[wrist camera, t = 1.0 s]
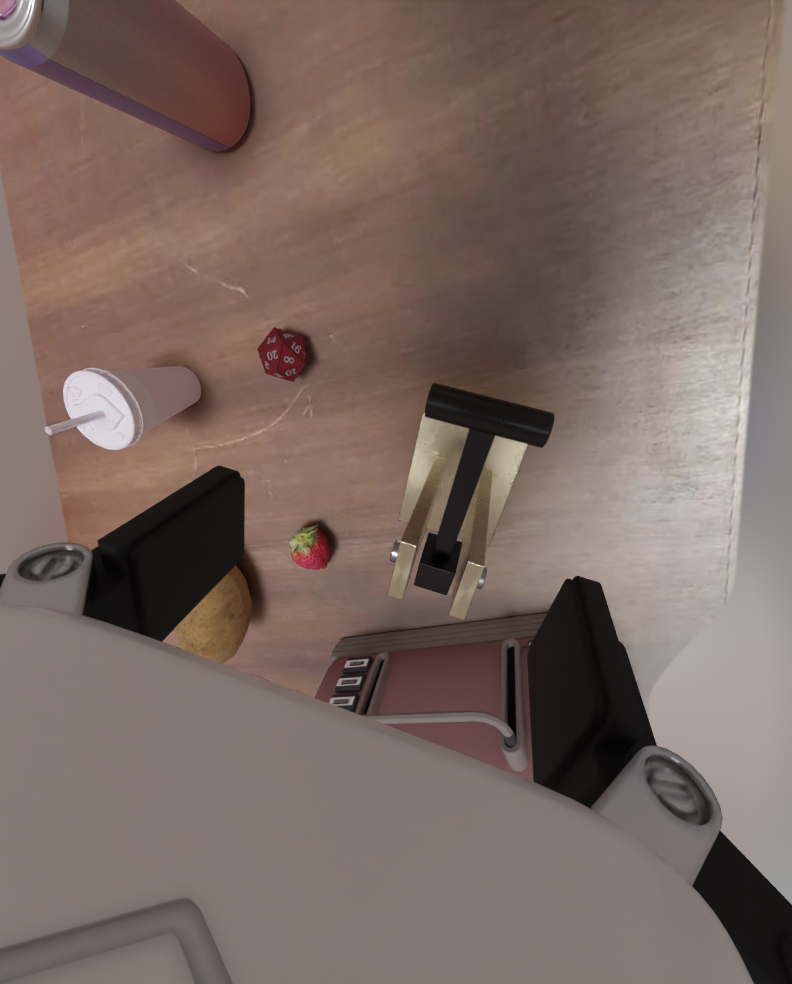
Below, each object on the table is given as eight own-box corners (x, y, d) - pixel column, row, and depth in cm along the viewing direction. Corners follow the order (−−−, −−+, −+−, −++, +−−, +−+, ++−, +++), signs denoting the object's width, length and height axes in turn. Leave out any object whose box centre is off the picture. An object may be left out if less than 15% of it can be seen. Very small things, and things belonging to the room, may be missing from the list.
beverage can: (204, 168, 30) (-21, 82, 17) (164, 67, 28) (-128, -118, 15) (268, 132, 28) (68, 4, 15) (232, 21, 26) (-40, -240, 13)
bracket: (425, 409, 35) (376, 482, 22) (528, 436, 34) (541, 530, 21) (400, 514, 40) (350, 621, 27) (489, 540, 39) (480, 665, 26)
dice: (305, 319, 34) (281, 323, 30) (322, 372, 35) (301, 382, 32) (267, 330, 35) (241, 335, 31) (285, 381, 37) (262, 391, 33)
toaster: (587, 567, 38) (640, 752, 23) (649, 800, 50) (710, 1018, 35) (322, 610, 49) (241, 752, 34) (426, 791, 61) (400, 953, 47)
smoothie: (218, 420, 40) (94, 479, 28) (163, 413, 41) (22, 465, 29) (207, 354, 37) (64, 387, 25) (148, 348, 38) (-15, 377, 26)
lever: (438, 370, 17) (424, 402, 15) (556, 399, 16) (554, 435, 15) (403, 549, 28) (393, 578, 26) (473, 570, 27) (467, 602, 26)
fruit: (308, 561, 46) (287, 589, 42) (296, 515, 43) (273, 541, 39) (342, 563, 45) (324, 592, 40) (332, 516, 42) (312, 542, 38)
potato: (240, 516, 45) (183, 566, 37) (278, 620, 52) (236, 682, 44) (179, 516, 48) (112, 564, 40) (222, 616, 54) (172, 674, 46)
